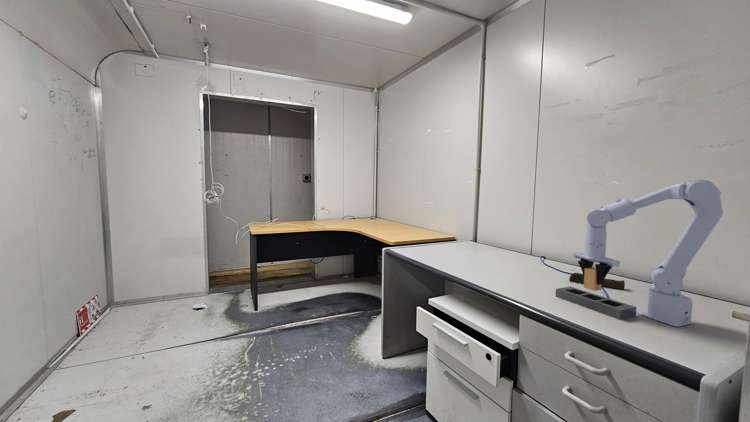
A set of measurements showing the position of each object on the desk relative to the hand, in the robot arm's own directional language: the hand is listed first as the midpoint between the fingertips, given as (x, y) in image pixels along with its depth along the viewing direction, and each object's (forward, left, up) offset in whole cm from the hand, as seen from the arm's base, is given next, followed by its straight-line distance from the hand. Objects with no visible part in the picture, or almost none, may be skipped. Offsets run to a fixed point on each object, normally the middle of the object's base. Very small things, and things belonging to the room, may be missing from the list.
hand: (593, 282), depth 105 cm
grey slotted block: (0, 0, -8) cm, 8 cm away
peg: (0, 0, -2) cm, 2 cm away
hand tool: (+15, -25, -9) cm, 30 cm away
